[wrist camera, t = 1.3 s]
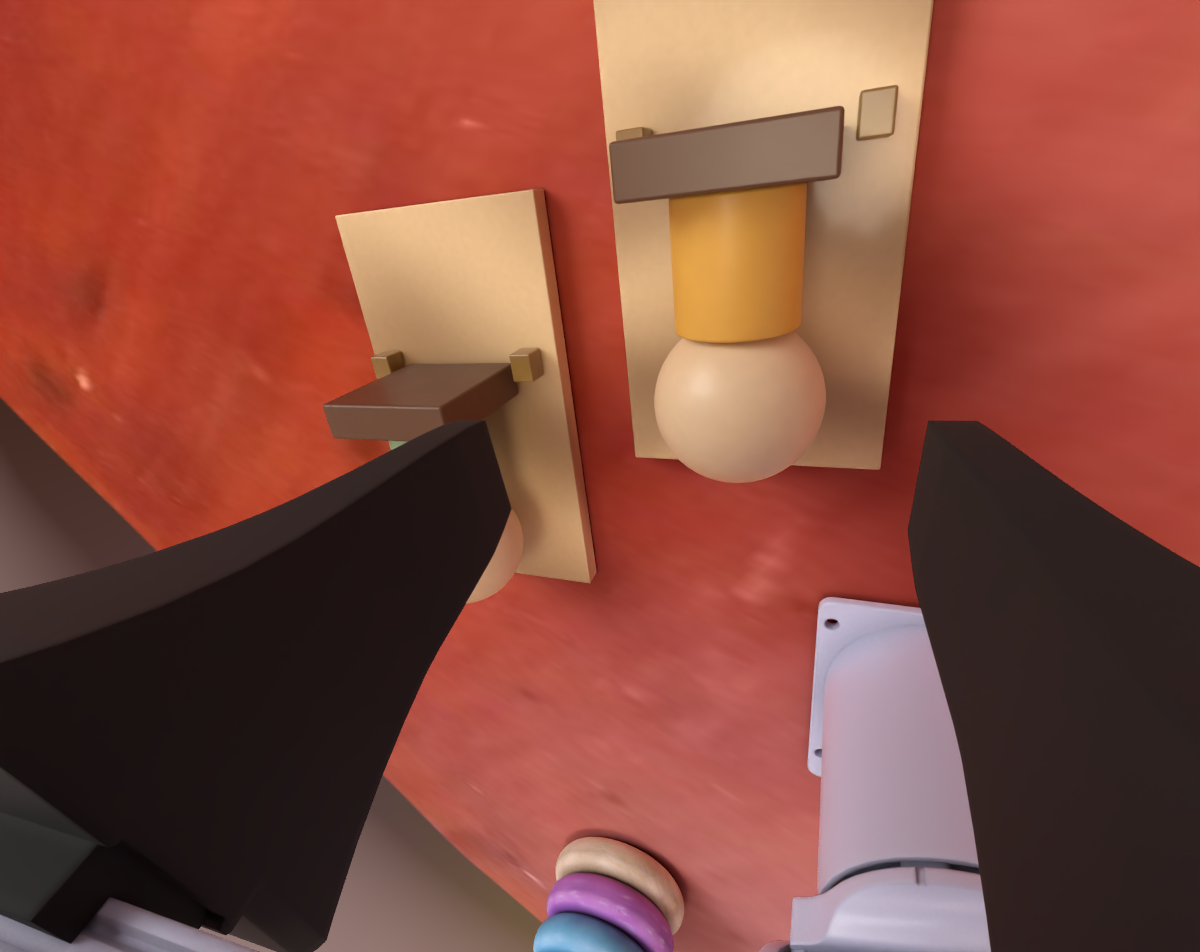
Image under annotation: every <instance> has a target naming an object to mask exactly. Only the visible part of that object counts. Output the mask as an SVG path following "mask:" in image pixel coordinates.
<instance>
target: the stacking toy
mask: <svg viewBox="0 0 1200 952" xmlns="http://www.w3.org/2000/svg"><path fill="white" fill-rule="evenodd" d="M556 879H557V882H556V883H555V884H554V886H553V887H552V889H551V891H550V893H549V896H548V900H547V914H548V919H546V920H545V921H544V922H543V923H542V925H541V926H540V928H539V929H538V932H537V934H536V937H535V940H534V950H533V951H534V952H673V948H674V946H673V935H674V934H675V933H676V932H677V931H678V929H679V928H680V926H681V924H682V921H683V917H684V902H683V897H682V894H681V891H680V889H679V887H678V885H677V883H676V882H675V880H674V879H673V877H672V876H671V875H670V874H669V872H668V871H667V870H666V869H665V868H664V867H663V866H662V865H661V864H660V863H658V862H657V861H656V860H655V859H653V858H652V857H650V856H649V855H647V854H646V853H644V852H642V851H640V850H639V849H637V848H635V847H633V846H630V845H628V844H626V843H623V842H620V841H617V840H613V839H609V838H603V837H584V838H580V839H577V840H574V841H572V842H571V843H569V844H568V845H567V846H566V847H565V848H564V849H563V850H562V851H561V853H560V855H559V857H558V860H557V863H556Z"/></svg>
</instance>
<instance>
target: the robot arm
mask: <svg viewBox="0 0 1200 952" xmlns="http://www.w3.org/2000/svg"><path fill="white" fill-rule="evenodd" d="M511 510H512V508H511V505H510V501H509V498H508V495H507V491H506V488H505V485H504V481H503V478H502V475H501V471H500V468H499V464H498V461H497V458H496V454H495V451H494V448H493V444H492V441H491V438H490V434H489V431H488V427H487V424H486V421H485V420H456V421H453V422H450V423H447V424H444V425H442V426H440V427H437V428H435V429H433V430H431V431H429V432H426V433H424V434H422V435H420V436H418V437H416V438H414V439H412V440H410V441H408V442H406V443H404V444H403V445H401V446H399V447H397V448H395V449H393V450H391V451H389V452H387V453H385V454H383V455H381V456H379V457H378V458H376V459H374V460H372V461H370V462H368V463H366V464H364V465H362V466H360V467H358V468H356V469H354V470H353V471H351V472H349V473H346V474H344V475H342V476H340V477H338V478H336V479H334V480H332V481H330V482H328V483H326V484H324V485H322V486H320V487H318V488H316V489H314V490H312V491H310V492H308V493H306V494H304V495H301V496H299V497H297V498H295V499H293V500H291V501H289V502H286V503H284V504H282V505H280V506H277V507H275V508H273V509H270V510H268V511H266V512H263V513H261V514H259V515H256V516H254V517H251V518H249V519H246V520H244V521H241V522H239V523H236V524H234V525H231V526H229V527H226V528H223V529H221V530H218V531H215V532H213V533H210V534H207V535H204V536H201V537H198V538H195V539H192V540H189V541H186V542H183V543H180V544H177V545H174V546H172V547H169V548H166V549H163V550H160V551H157V552H154V553H151V554H148V555H145V556H142V557H138V558H135V559H132V560H128V561H125V562H122V563H118V564H114V565H111V566H108V567H104V568H101V569H97V570H93V571H90V572H86V573H83V574H78V575H75V576H71V577H67V578H63V579H60V580H56V581H51V582H47V583H43V584H39V585H35V586H32V587H27V588H22V589H18V590H13V591H8V592H4V593H0V952H258V951H255V950H253V949H250V948H247V947H245V946H242V945H239V944H236V943H234V942H231V941H228V940H226V939H223V938H220V937H217V936H215V935H212V934H209V933H207V932H204V931H201V930H199V928H200V927H201V926H202V927H204V928H207V929H210V930H213V931H215V932H218V933H221V934H224V935H227V934H230V935H233V936H236V937H238V938H241V939H244V940H246V941H249V942H252V943H255V944H257V945H260V946H263V947H266V948H268V949H271V950H274V951H277V952H313V951H315V950H317V949H318V948H319V947H320V946H321V945H322V944H323V943H324V942H325V941H326V940H327V936H328V933H329V930H330V926H331V923H332V920H333V916H334V913H335V910H336V907H337V904H338V901H339V898H340V895H341V892H342V889H343V885H344V882H345V879H346V876H347V873H348V870H349V867H350V864H351V861H352V858H353V855H354V852H355V848H356V845H357V842H358V840H359V837H360V834H361V831H362V829H363V826H364V823H365V821H366V818H367V815H368V813H369V810H370V807H371V804H372V802H373V799H374V796H375V794H376V791H377V788H378V785H379V783H380V780H381V777H382V775H383V772H384V770H385V768H386V765H387V763H388V760H389V758H390V755H391V753H392V750H393V748H394V746H395V743H396V741H397V738H398V736H399V733H400V731H401V729H402V726H403V724H404V721H405V719H406V717H407V715H408V713H409V710H410V708H411V706H412V704H413V701H414V699H415V697H416V695H417V692H418V690H419V688H420V686H421V684H422V681H423V679H424V677H425V675H426V673H427V671H428V669H429V667H430V665H431V663H432V661H433V660H434V658H435V656H436V654H437V652H438V650H439V648H440V647H441V645H442V643H443V642H444V640H445V638H446V637H447V635H448V633H449V631H450V630H451V628H452V626H453V625H454V623H455V621H456V619H457V618H458V616H459V614H460V613H461V611H462V609H463V607H464V606H465V604H466V602H467V601H468V599H469V597H470V596H471V594H472V592H473V590H474V589H475V587H476V585H477V583H478V582H479V580H480V578H481V576H482V575H483V573H484V571H485V569H486V568H487V566H488V564H489V562H490V560H491V559H492V557H493V555H494V553H495V551H496V548H497V546H498V544H499V541H500V539H501V536H502V534H503V531H504V529H505V526H506V523H507V520H508V518H509V515H510V512H511ZM908 536H909V545H910V553H911V562H912V569H913V576H914V583H915V589H916V593H917V597H918V600H919V604H920V608H917V607H909V606H901V605H893V604H885V603H877V602H870V601H862V600H854V599H846V598H838V597H827V598H824V599H823V600H822V601H820V603H819V608H818V622H817V636H816V650H815V664H814V679H813V693H812V707H811V721H810V736H809V750H808V765H807V766H808V769H809V770H810V772H811V773H813V774H814V775H817V776H820V777H821V795H820V825H819V854H818V883H817V895H816V896H809V897H795V898H793V904H792V919H791V933H790V941H783V940H777V941H772V942H768V943H767V944H766V945H764V946H763V947H761V948H760V950H759V951H758V952H1200V567H1198V566H1196V565H1195V564H1193V563H1191V562H1189V561H1188V560H1186V559H1184V558H1182V557H1181V556H1179V555H1177V554H1175V553H1174V552H1172V551H1170V550H1169V549H1167V548H1166V547H1164V546H1162V545H1161V544H1159V543H1157V542H1156V541H1154V540H1153V539H1151V538H1149V537H1148V536H1146V535H1144V534H1143V533H1141V532H1139V531H1138V530H1136V529H1135V528H1133V527H1131V526H1130V525H1128V524H1126V523H1125V522H1123V521H1122V520H1120V519H1119V518H1117V517H1115V516H1114V515H1112V514H1111V513H1109V512H1108V511H1106V510H1105V509H1103V508H1102V507H1100V506H1099V505H1097V504H1096V503H1094V502H1093V501H1091V500H1090V499H1088V498H1087V497H1085V496H1084V495H1082V494H1081V493H1079V492H1078V491H1076V490H1075V489H1074V488H1072V487H1071V486H1069V485H1068V484H1066V483H1065V482H1063V481H1062V480H1061V479H1059V478H1058V477H1056V476H1055V475H1053V474H1052V473H1051V472H1049V471H1048V470H1046V469H1045V468H1044V467H1042V466H1041V465H1039V464H1038V463H1037V462H1035V461H1034V460H1033V459H1031V458H1030V457H1028V456H1027V455H1026V454H1024V453H1023V452H1021V451H1020V450H1019V449H1017V448H1016V447H1015V446H1013V445H1012V444H1010V443H1009V442H1008V441H1006V440H1005V439H1003V438H1002V437H1001V436H999V435H998V434H996V433H995V432H994V431H992V430H991V429H989V428H988V427H986V426H985V425H983V424H981V423H980V422H978V421H928V426H927V431H926V436H925V441H924V447H923V452H922V457H921V463H920V468H919V473H918V479H917V484H916V489H915V495H914V500H913V505H912V511H911V516H910V521H909V526H908ZM828 619H835V620H837V621H838V622H836V623H830V622H828V621H826V620H828ZM820 749H822V750H820Z"/></svg>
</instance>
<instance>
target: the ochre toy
mask: <svg viewBox="0 0 1200 952" xmlns="http://www.w3.org/2000/svg"><path fill="white" fill-rule="evenodd" d="M844 114H845V110H844V107H843V106H834V107H828V108H822V109H815V110H809V111H803V112H796V113H790V114H784V115H777V116H771V117H765V118H758V119H752V120H746V121H739V122H733V123H727V124H720V125H714V126H708V127H701V128H695V129H689V130H683V131H676V132H670V133H664V134H657V135H651V136H645V137H638V138H632V139H626V140H619V141H613V142H611V143H610V144H609V153H610V163H611V174H612V185H613V196H614V202H615V203H616V204H625V203H633V202H642V201H650V200H659V199H668V198H669V200H668V205H669V224H670V242H671V261H672V280H673V298H674V317H675V331H676V333H677V335H678V336H680V337H682V339H681V340H680V341H679V342H678V343H677V344H676V345H675V347H674V348H673V349H672V350H671V352H670V353H669V355H668V356H667V358H666V360H665V361H664V363H663V365H662V367H661V370H660V372H659V375H658V379H657V383H656V387H655V395H654V408H655V415H656V420H657V424H658V428H659V430H660V433H661V435H662V437H663V439H664V441H665V443H666V444H667V446H668V447H669V449H670V450H671V451H672V453H673V454H674V455H675V456H676V457H677V458H678V459H679V460H680V461H681V462H682V463H683V464H684V465H686V466H687V467H688V468H690V469H691V470H693V471H694V472H696V473H698V474H700V475H702V476H704V477H707V478H710V479H713V480H717V481H721V482H728V483H745V482H754V481H758V480H762V479H765V478H768V477H771V476H773V475H775V474H777V473H779V472H781V471H783V470H784V469H786V468H787V467H789V466H790V465H792V464H793V463H794V462H795V461H797V460H798V459H799V458H800V457H801V456H802V455H803V454H804V452H805V451H806V450H807V449H808V448H809V446H810V445H811V443H812V442H813V440H814V439H815V437H816V435H817V433H818V431H819V429H820V426H821V423H822V419H823V416H824V412H825V405H826V388H825V382H824V376H823V373H822V370H821V366H820V364H819V362H818V360H817V358H816V356H815V354H814V353H813V352H812V350H811V349H810V347H809V346H808V345H807V344H806V343H805V341H804V340H803V339H802V338H801V337H800V336H799V335H797V334H796V333H795V332H794V330H796V329H797V328H798V327H799V326H800V324H801V317H802V293H803V269H804V246H805V222H806V198H807V183H806V182H814V181H823V180H831V179H836V178H838V177H839V176H840V174H841V163H842V147H843V132H844Z"/></svg>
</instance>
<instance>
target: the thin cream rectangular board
mask: <svg viewBox="0 0 1200 952" xmlns="http://www.w3.org/2000/svg"><path fill="white" fill-rule="evenodd" d="M335 218H336V221H337V225H338V228H339V232H340V235H341V239H342V242H343V245H344V249H345V252H346V256H347V259H348V263H349V266H350V270H351V273H352V277H353V280H354V284H355V287H356V291H357V294H358V298H359V301H360V305H361V308H362V312H363V315H364V319H365V322H366V326H367V329H368V333H369V336H370V340H371V343H372V347H373V350H374V354H375V356H372V357H371V360H372V364H373V367H374V371H375V374H376V378H377V379H380V378H382V377H384V376H386V375H388V374H390V373H392V372H395V371H397V370H399V369H401V368H403V367H405V366H407V365H410V364H476V363H511V369H512V374H513V380H514V382H517V388H518V395H516V396H515V397H513V398H512V399H511V400H509V401H508V402H506V403H505V404H504V405H502V406H501V407H499V408H498V409H497V410H495V411H494V412H492V413H491V414H490V415H488V416H487V417H485V418H484V419H483V420H485V421H486V424H487V427H488V431H489V434H490V438H491V441H492V444H493V448H494V451H495V454H496V458H497V461H498V464H499V468H500V471H501V475H502V478H503V481H504V485H505V488H506V491H507V495H508V498H509V501H510V505H511V507H512V509H513V510H514V512H515V513H516V515H517V517H518V519H519V521H520V524H521V528H522V532H523V553H522V557H521V561H520V563H519V566H518V568H517V570H516V572H515V573H519V574H527V575H534V576H541V577H548V578H555V579H563V580H570V581H577V582H584V583H591V581H592V580H593V578H594V576H595V575H596V573H597V572H596V564H595V557H594V550H593V543H592V535H591V528H590V521H589V514H588V506H587V499H586V492H585V485H584V478H583V470H582V463H581V456H580V449H579V441H578V434H577V427H576V420H575V412H574V405H573V398H572V391H571V384H570V376H569V369H568V362H567V355H566V347H565V340H564V333H563V326H562V318H561V311H560V304H559V297H558V290H557V282H556V275H555V268H554V261H553V253H552V246H551V239H550V232H549V225H548V217H547V210H546V203H545V196H544V190H543V189H531V190H523V191H516V192H508V193H501V194H493V195H486V196H478V197H471V198H463V199H456V200H448V201H441V202H433V203H426V204H418V205H411V206H403V207H396V208H389V209H381V210H374V211H366V212H359V213H351V214H344V215H336V216H335Z"/></svg>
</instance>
